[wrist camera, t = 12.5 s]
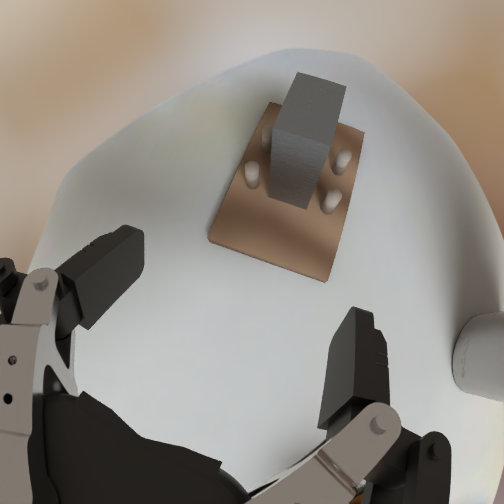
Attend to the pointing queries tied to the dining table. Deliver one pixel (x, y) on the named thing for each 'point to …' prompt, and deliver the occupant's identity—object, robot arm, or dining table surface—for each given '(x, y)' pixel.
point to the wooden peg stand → (288, 206)
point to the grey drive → (303, 138)
